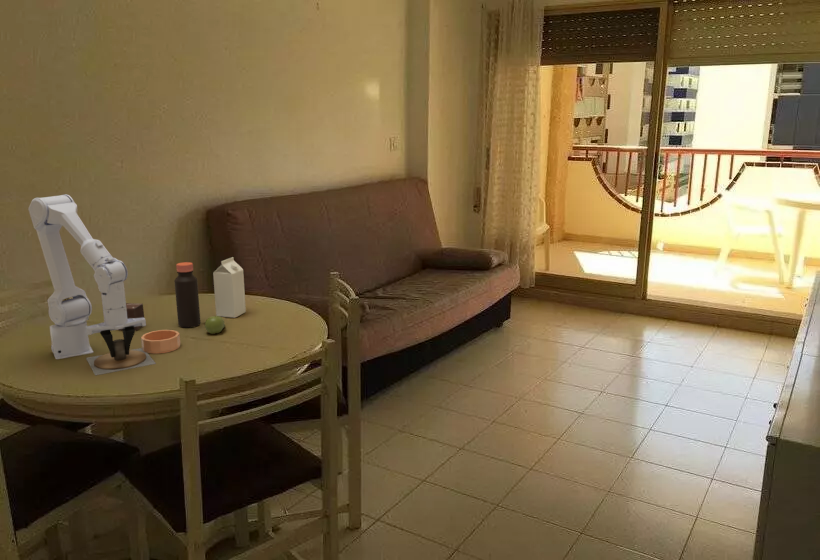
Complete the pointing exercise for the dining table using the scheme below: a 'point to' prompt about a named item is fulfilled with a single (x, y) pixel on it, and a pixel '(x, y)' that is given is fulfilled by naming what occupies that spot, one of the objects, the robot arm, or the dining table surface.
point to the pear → (214, 324)
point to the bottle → (187, 296)
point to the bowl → (160, 341)
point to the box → (134, 312)
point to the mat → (103, 371)
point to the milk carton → (229, 289)
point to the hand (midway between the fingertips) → (119, 355)
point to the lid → (119, 357)
